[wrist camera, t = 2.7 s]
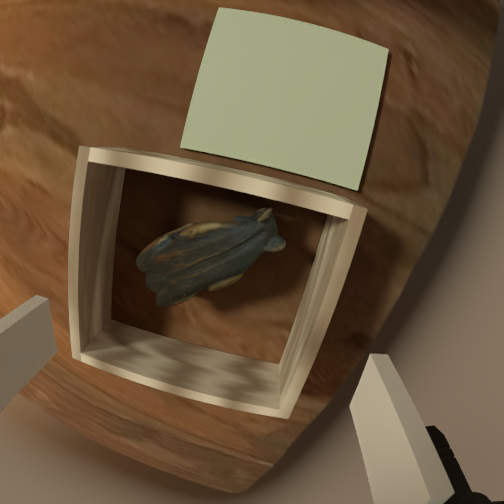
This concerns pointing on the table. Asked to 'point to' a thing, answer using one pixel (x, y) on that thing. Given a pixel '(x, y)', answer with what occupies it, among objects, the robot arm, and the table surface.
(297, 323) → the frame
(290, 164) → the pad
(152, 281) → the sculpture
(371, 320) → the table surface
